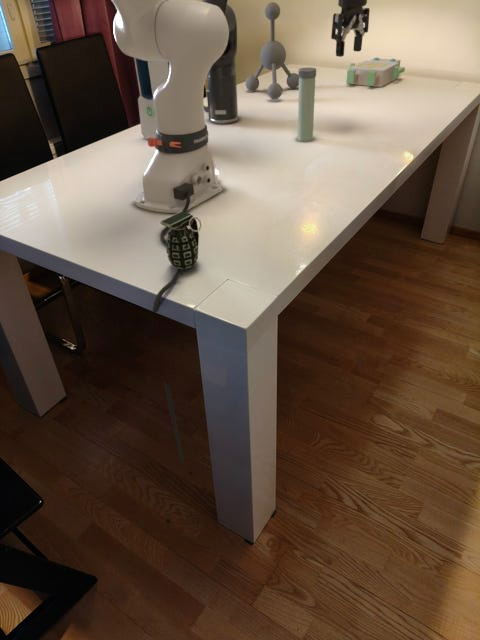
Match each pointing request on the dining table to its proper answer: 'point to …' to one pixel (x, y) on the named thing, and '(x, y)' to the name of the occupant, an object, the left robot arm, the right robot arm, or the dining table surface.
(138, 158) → the dining table surface
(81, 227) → the dining table surface
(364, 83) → the grey box with clips
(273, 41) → the molecular model
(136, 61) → the electronic device
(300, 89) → the mint green cylinder
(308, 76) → the lid
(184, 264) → the grenade
